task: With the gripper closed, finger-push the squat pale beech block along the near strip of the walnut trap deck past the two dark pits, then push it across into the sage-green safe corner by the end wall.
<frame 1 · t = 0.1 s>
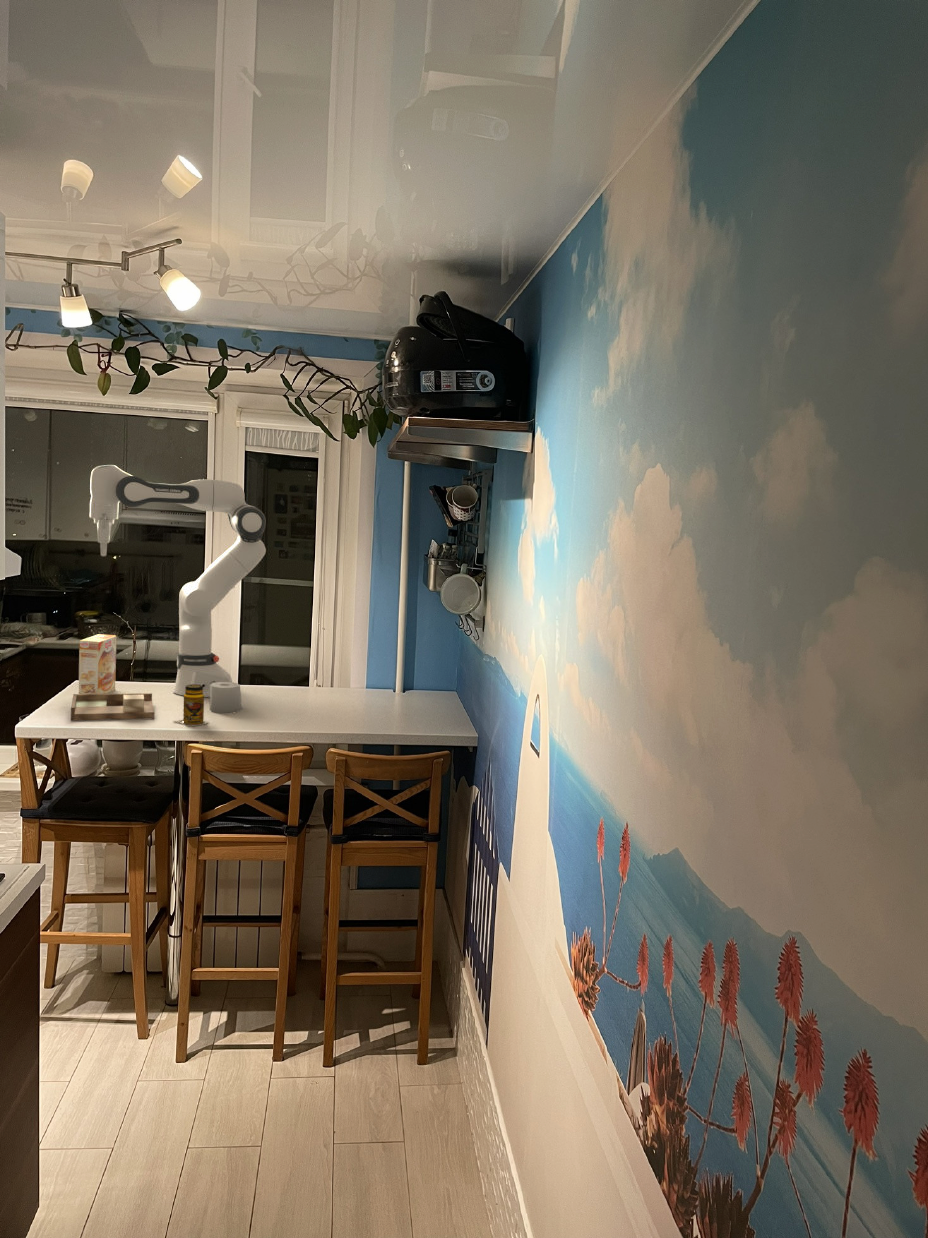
hand: (103, 554, 307), 48 cm above the breakfast bar, fingers open, 8 cm apart
coffeecake box: (97, 694, 314), on the breakfast bar
condiment: (191, 723, 285), on the breakfast bar
toilet tissue: (227, 710, 304), on the breakfast bar
block: (133, 709, 288), point 2 cm above the breakfast bar, touching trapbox
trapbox: (113, 712, 290), on the breakfast bar
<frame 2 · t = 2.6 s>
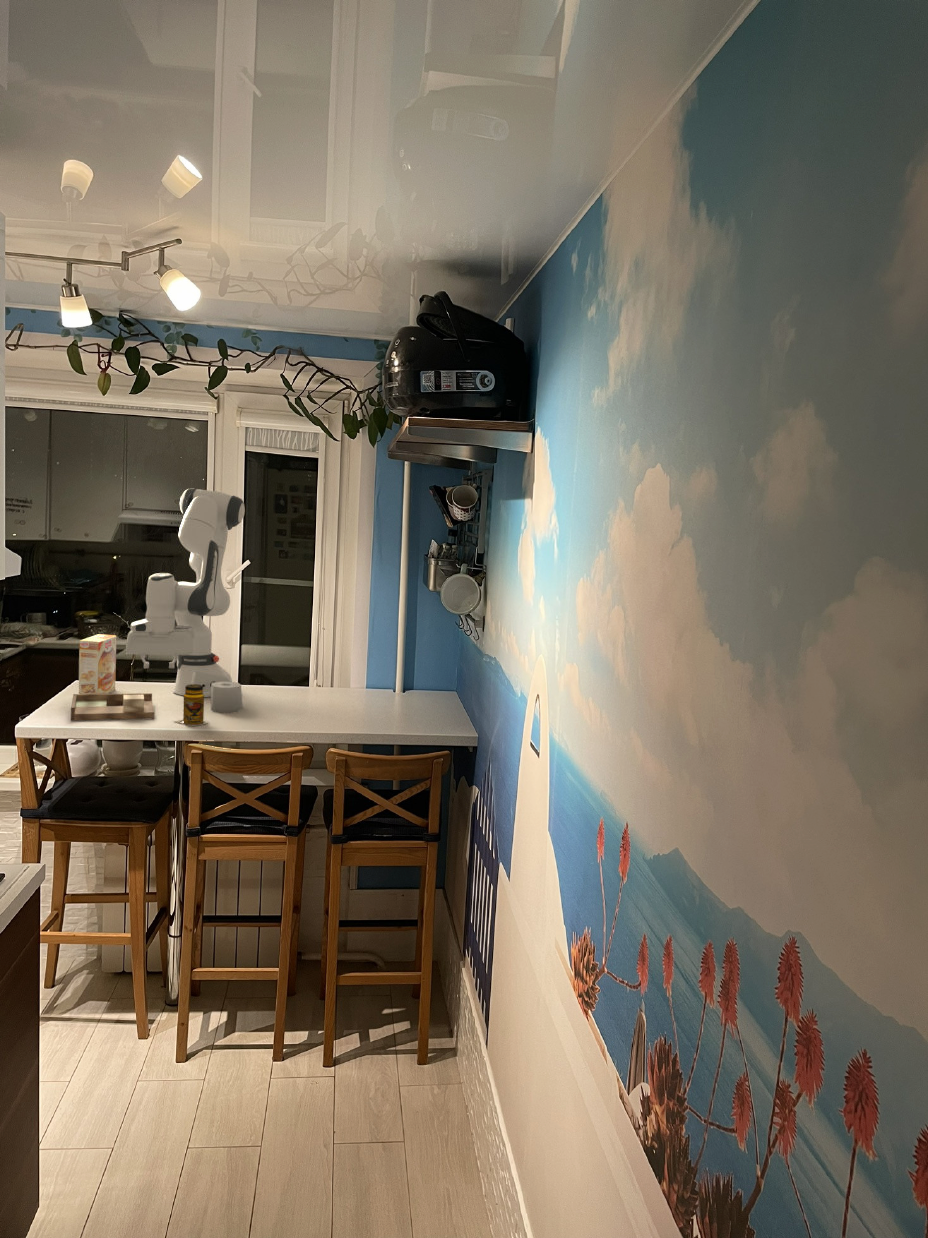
hand: (159, 668, 289), 15 cm above the breakfast bar, fingers open, 6 cm apart
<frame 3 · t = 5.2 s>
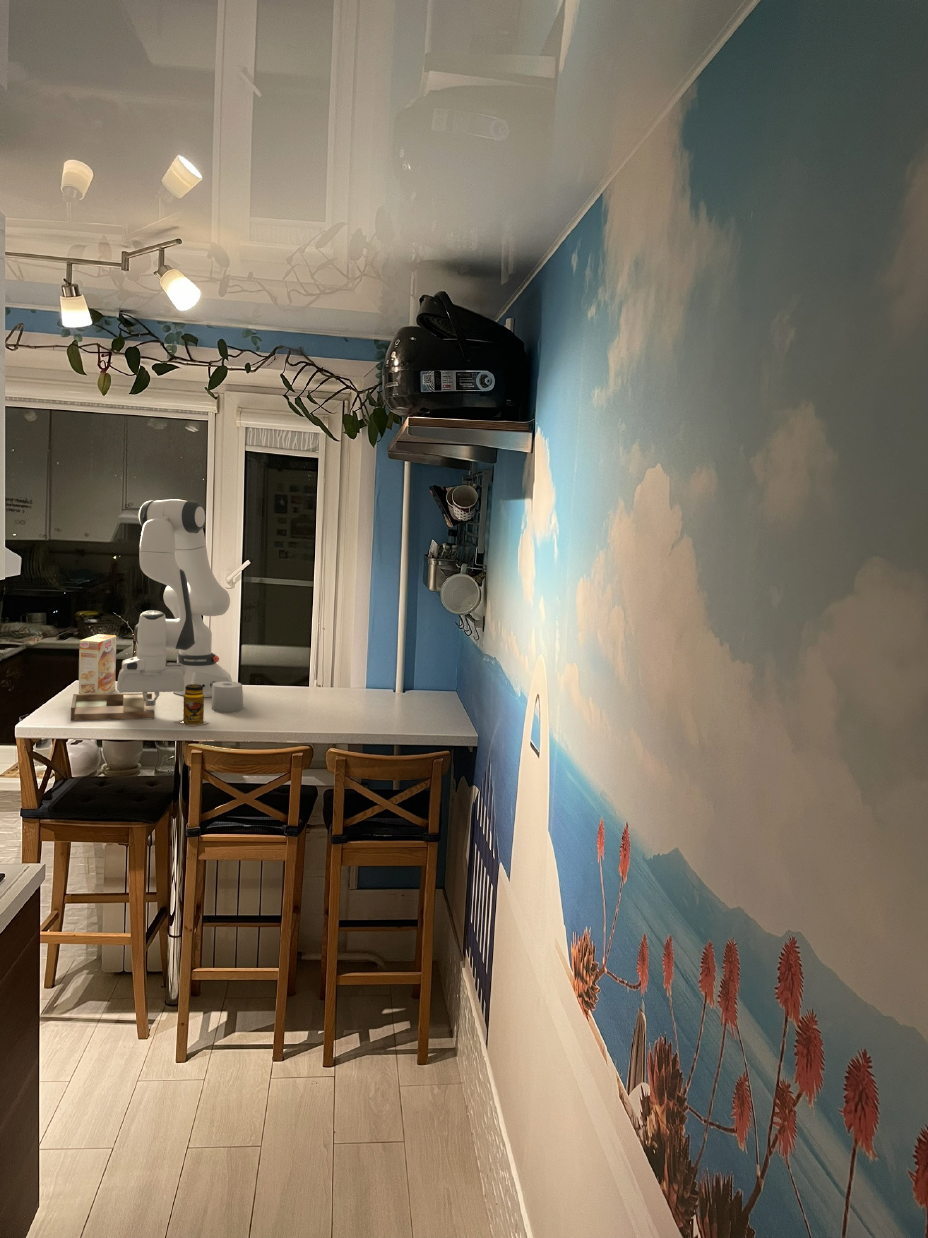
hand: (150, 705, 290), 3 cm above the breakfast bar, fingers closed
block: (133, 709, 288), point 2 cm above the breakfast bar, touching gripper, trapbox
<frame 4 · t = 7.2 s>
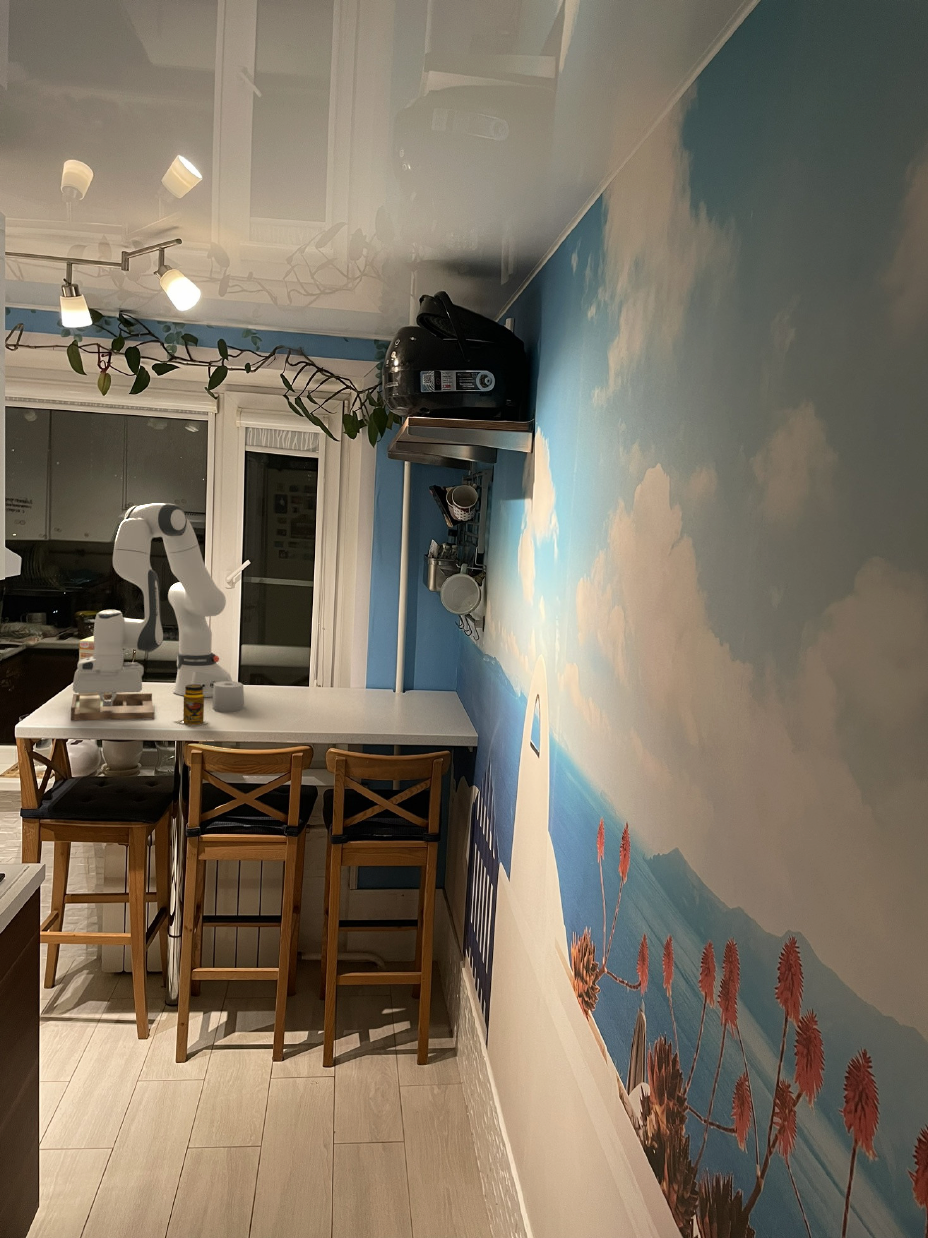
hand: (107, 706, 285), 3 cm above the breakfast bar, fingers closed
block: (90, 710, 283), point 2 cm above the breakfast bar, touching gripper, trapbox
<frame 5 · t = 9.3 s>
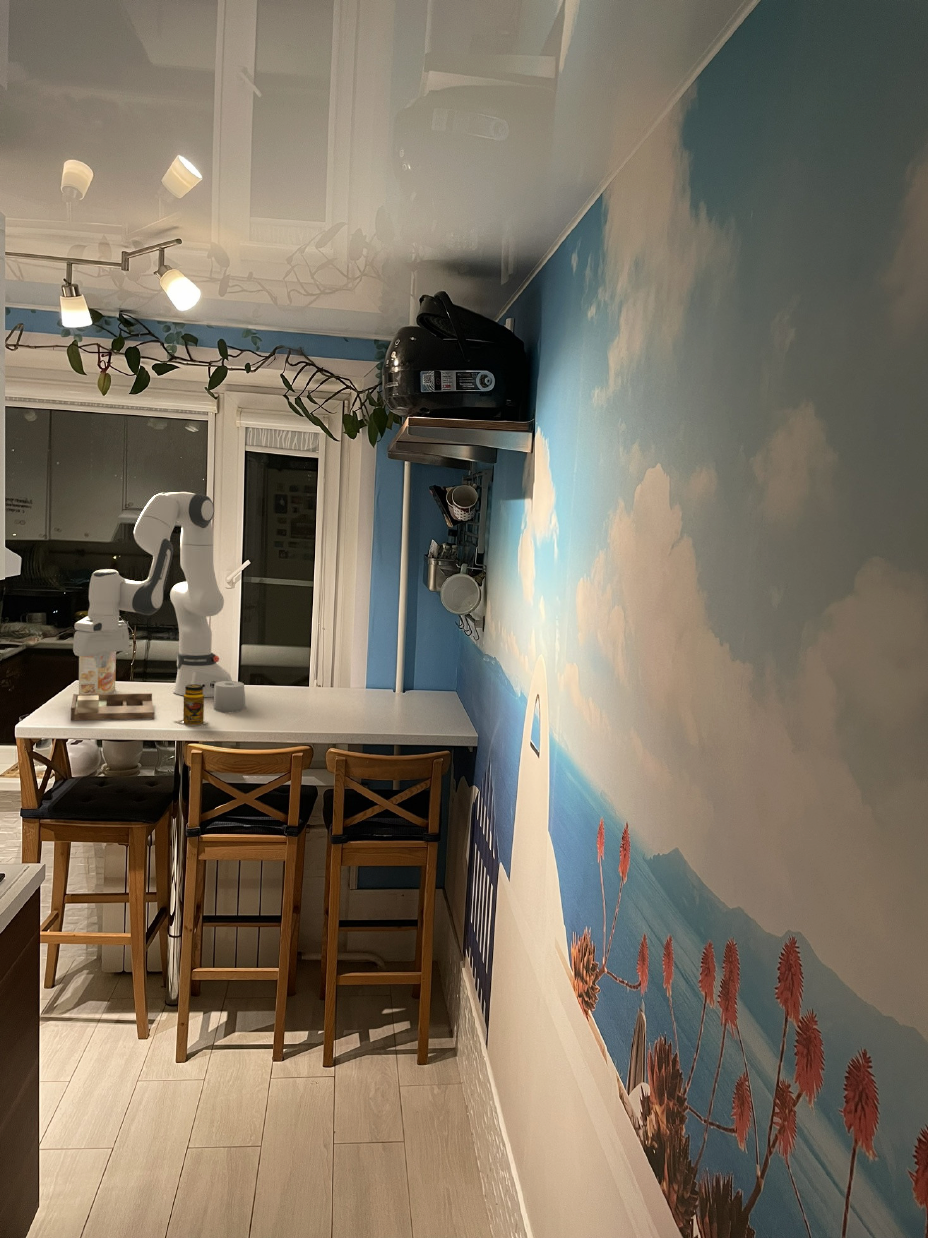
hand: (101, 667, 279), 16 cm above the breakfast bar, fingers closed
block: (88, 710, 283), point 2 cm above the breakfast bar, touching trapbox
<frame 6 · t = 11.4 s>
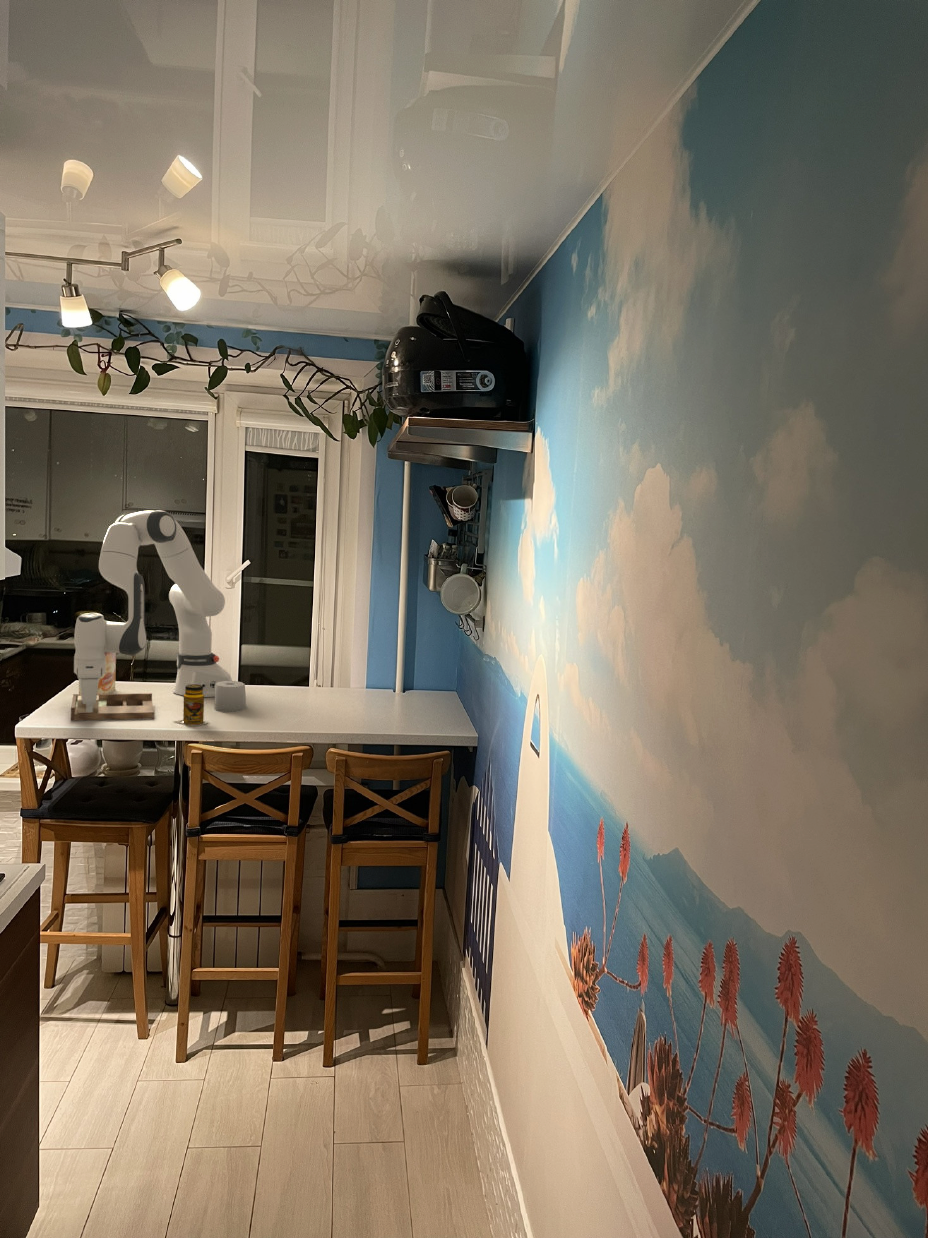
hand: (89, 711, 278), 3 cm above the breakfast bar, fingers closed
block: (88, 710, 283), point 2 cm above the breakfast bar, touching gripper
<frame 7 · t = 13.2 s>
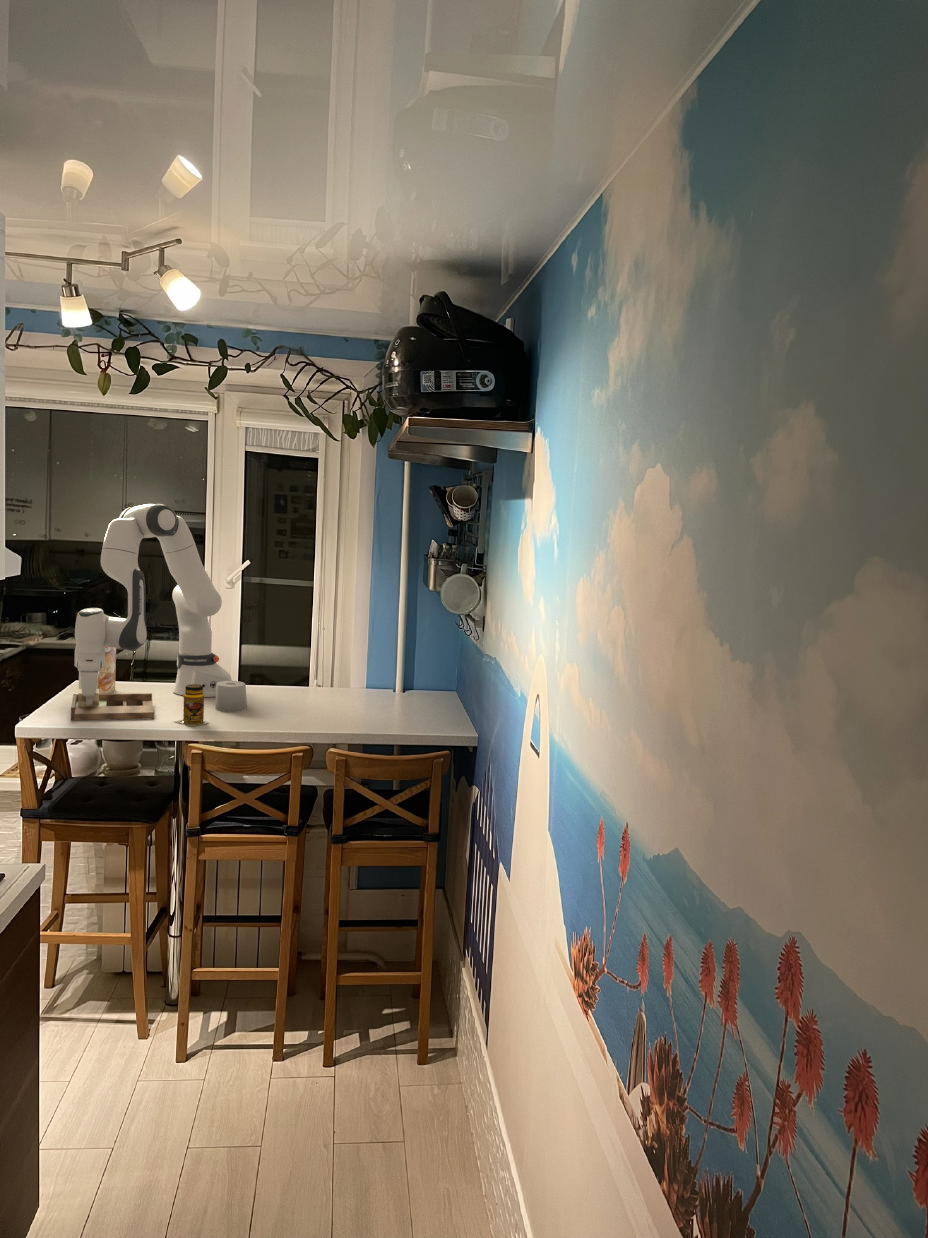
hand: (89, 703, 287), 3 cm above the breakfast bar, fingers closed
block: (88, 703, 291), point 2 cm above the breakfast bar, touching gripper, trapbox
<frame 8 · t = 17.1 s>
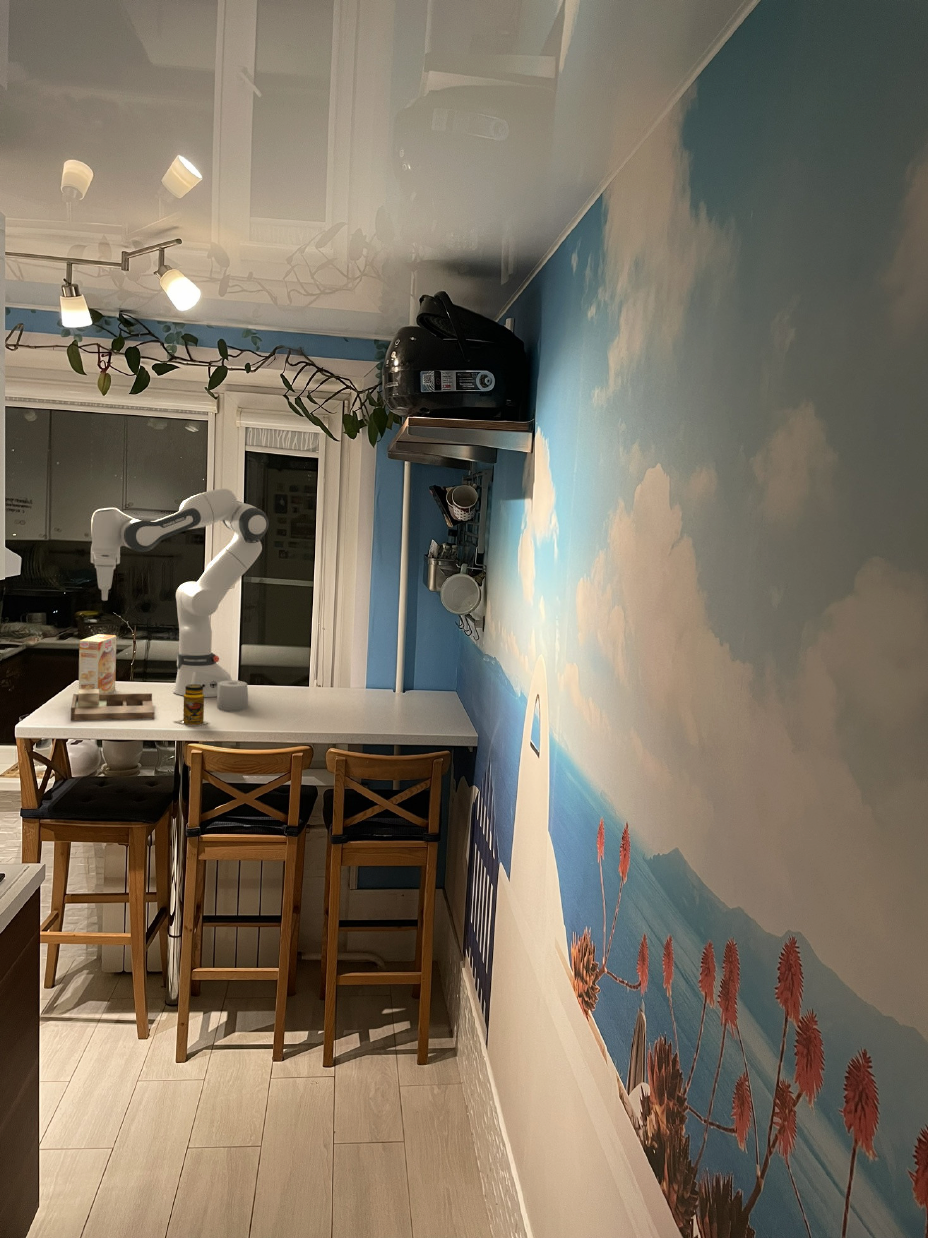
hand: (104, 599, 298), 34 cm above the breakfast bar, fingers closed
block: (88, 703, 291), point 2 cm above the breakfast bar, touching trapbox
at the end: block inside the target area on the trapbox (0.8 cm from its centre), point 2.0 cm above the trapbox's base; block tilted 0° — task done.
